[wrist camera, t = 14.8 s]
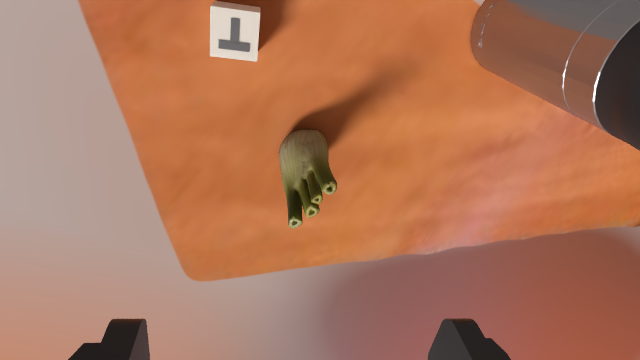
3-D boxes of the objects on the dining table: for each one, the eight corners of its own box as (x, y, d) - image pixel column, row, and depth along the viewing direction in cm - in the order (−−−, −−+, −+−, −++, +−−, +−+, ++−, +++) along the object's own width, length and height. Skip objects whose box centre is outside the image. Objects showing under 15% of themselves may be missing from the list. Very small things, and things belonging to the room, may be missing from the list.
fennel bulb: (285, 172, 45) (292, 238, 34) (267, 136, 42) (269, 196, 32) (332, 153, 44) (354, 214, 34) (317, 116, 42) (335, 169, 31)
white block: (215, 0, 35) (210, 5, 31) (260, 7, 36) (260, 13, 32) (214, 46, 37) (209, 56, 33) (257, 51, 38) (257, 61, 34)
